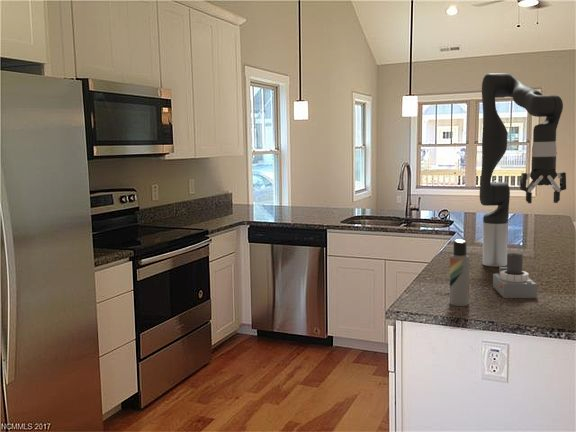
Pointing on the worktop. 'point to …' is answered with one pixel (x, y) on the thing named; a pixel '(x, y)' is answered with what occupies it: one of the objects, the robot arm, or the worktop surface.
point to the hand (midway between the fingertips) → (542, 202)
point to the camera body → (514, 285)
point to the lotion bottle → (459, 274)
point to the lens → (514, 264)
